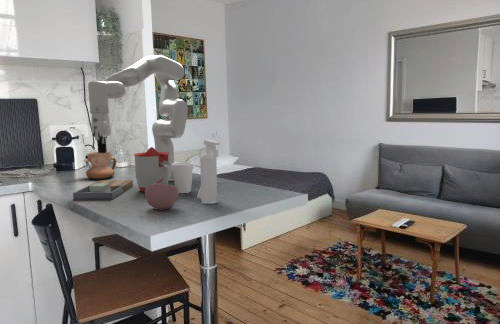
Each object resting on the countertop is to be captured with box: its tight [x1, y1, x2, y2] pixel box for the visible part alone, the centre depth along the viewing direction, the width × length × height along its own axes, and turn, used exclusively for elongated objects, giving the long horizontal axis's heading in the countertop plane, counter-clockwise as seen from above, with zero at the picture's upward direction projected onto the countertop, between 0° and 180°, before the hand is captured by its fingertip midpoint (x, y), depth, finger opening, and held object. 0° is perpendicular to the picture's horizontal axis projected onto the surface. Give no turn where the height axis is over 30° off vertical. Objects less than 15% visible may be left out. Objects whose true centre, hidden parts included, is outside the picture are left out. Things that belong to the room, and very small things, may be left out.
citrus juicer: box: [133, 146, 170, 193], centre depth 171 cm, size 16×17×20 cm
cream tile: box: [91, 187, 111, 192], centre depth 164 cm, size 6×6×2 cm
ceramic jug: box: [83, 151, 117, 180], centre depth 204 cm, size 18×14×14 cm
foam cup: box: [172, 161, 194, 194], centre depth 167 cm, size 10×9×13 cm
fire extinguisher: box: [196, 139, 221, 202], centre depth 148 cm, size 7×12×25 cm, turn 46°
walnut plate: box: [86, 179, 134, 194], centre depth 175 cm, size 16×14×3 cm
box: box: [72, 186, 124, 201], centre depth 161 cm, size 16×14×3 cm
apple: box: [144, 178, 179, 210], centre depth 139 cm, size 12×12×11 cm
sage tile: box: [88, 182, 109, 191], centre depth 162 cm, size 6×6×2 cm
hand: (102, 152), depth 165 cm, fingers closed
